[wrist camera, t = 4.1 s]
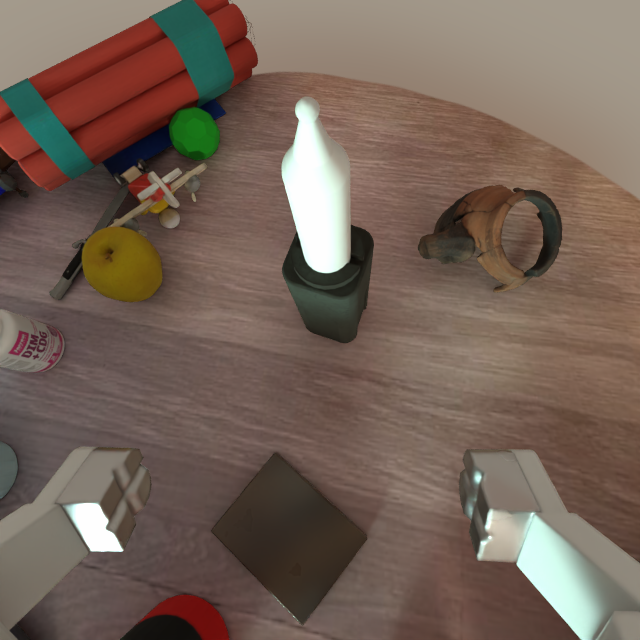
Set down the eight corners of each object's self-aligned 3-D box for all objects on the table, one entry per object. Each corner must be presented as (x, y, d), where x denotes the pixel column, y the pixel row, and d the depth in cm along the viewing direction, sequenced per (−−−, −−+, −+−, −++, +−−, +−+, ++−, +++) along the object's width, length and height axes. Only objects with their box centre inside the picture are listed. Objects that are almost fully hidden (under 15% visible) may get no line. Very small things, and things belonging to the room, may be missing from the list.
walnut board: (367, 535, 32) (367, 538, 31) (303, 621, 31) (302, 626, 30) (276, 452, 34) (274, 452, 33) (213, 528, 33) (210, 531, 32)
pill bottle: (68, 366, 38) (-9, 349, 30) (20, 379, 38) (-69, 365, 30) (65, 320, 39) (-10, 292, 31) (19, 332, 39) (-68, 307, 31)
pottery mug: (489, 188, 40) (562, 164, 32) (505, 278, 42) (579, 276, 34) (387, 215, 37) (440, 196, 29) (409, 311, 38) (466, 318, 30)
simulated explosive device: (274, 14, 38) (277, 96, 47) (208, -58, 39) (224, 36, 49) (7, 159, 32) (73, 218, 42) (-58, 68, 34) (20, 146, 43)
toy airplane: (117, 164, 41) (154, 217, 45) (77, 206, 34) (125, 264, 38) (194, 134, 38) (225, 193, 43) (167, 173, 32) (207, 238, 36)
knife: (47, 292, 41) (63, 303, 39) (40, 289, 40) (56, 300, 39) (127, 169, 42) (145, 175, 41) (122, 164, 42) (139, 171, 40)
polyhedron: (234, 141, 43) (220, 106, 39) (209, 176, 42) (192, 145, 38) (197, 124, 44) (179, 89, 40) (172, 158, 43) (151, 126, 39)
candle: (320, 280, 38) (265, 28, 14) (369, 296, 37) (402, 58, 13) (301, 329, 37) (207, 143, 13) (352, 346, 36) (353, 183, 12)
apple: (167, 317, 38) (121, 288, 30) (107, 307, 39) (47, 277, 31) (185, 257, 40) (145, 215, 32) (127, 248, 41) (74, 206, 33)
